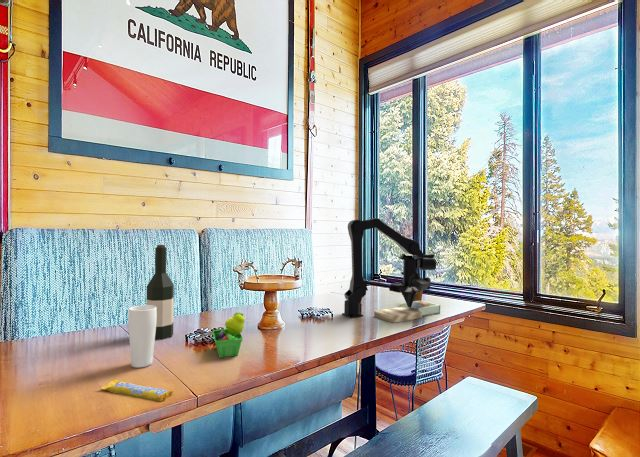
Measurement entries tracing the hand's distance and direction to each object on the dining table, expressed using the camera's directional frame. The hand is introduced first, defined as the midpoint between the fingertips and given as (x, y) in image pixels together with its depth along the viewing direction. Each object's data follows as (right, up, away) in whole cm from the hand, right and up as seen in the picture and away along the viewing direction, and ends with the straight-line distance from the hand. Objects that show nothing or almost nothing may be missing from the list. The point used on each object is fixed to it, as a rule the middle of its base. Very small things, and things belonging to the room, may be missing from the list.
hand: (409, 307), depth 157 cm
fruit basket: (-65, -3, -48) cm, 81 cm away
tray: (+6, -3, +5) cm, 9 cm away
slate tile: (+4, -2, +2) cm, 5 cm away
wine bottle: (-90, -2, -35) cm, 97 cm away
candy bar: (-78, -4, -75) cm, 108 cm away
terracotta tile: (+5, -1, +3) cm, 6 cm away
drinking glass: (-85, -3, -59) cm, 103 cm away
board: (-6, -3, -4) cm, 8 cm away
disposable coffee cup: (+7, -4, +22) cm, 23 cm away
